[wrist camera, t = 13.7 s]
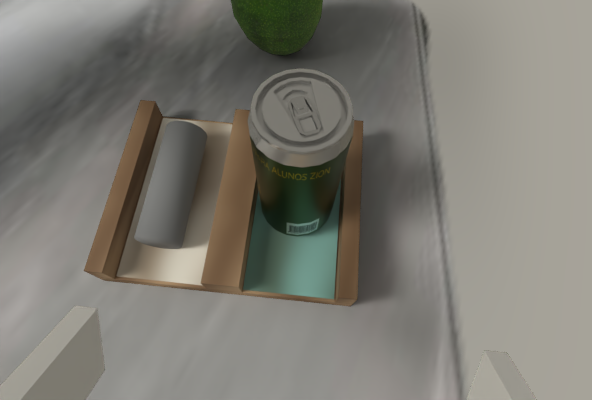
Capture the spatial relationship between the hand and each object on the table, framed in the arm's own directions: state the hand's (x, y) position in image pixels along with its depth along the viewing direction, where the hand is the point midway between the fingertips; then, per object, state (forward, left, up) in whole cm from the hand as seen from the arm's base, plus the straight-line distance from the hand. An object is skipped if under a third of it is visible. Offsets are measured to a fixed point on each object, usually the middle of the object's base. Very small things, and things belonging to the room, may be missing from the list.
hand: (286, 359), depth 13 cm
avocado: (-25, +15, -14) cm, 32 cm away
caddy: (-12, +3, -14) cm, 18 cm away
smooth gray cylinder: (-15, 0, -13) cm, 19 cm away
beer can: (-9, +7, -13) cm, 17 cm away
